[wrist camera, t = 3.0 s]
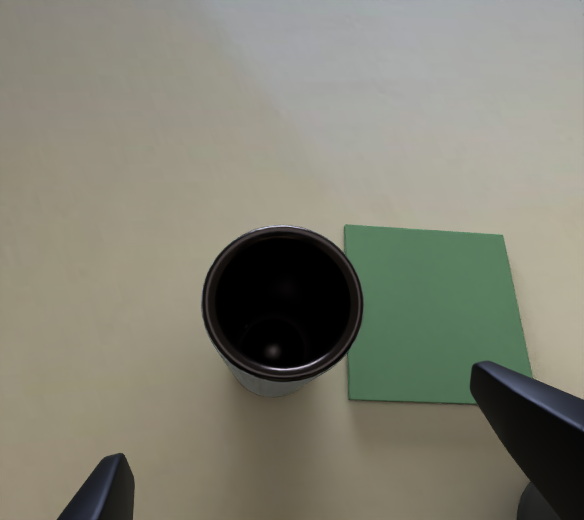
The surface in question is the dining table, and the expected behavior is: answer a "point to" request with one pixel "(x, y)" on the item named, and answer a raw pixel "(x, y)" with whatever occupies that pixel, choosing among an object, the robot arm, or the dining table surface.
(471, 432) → the dining table surface
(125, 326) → the dining table surface
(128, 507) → the robot arm
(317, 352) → the grey tumbler
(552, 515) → the mug
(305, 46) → the dining table surface
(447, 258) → the green mat
